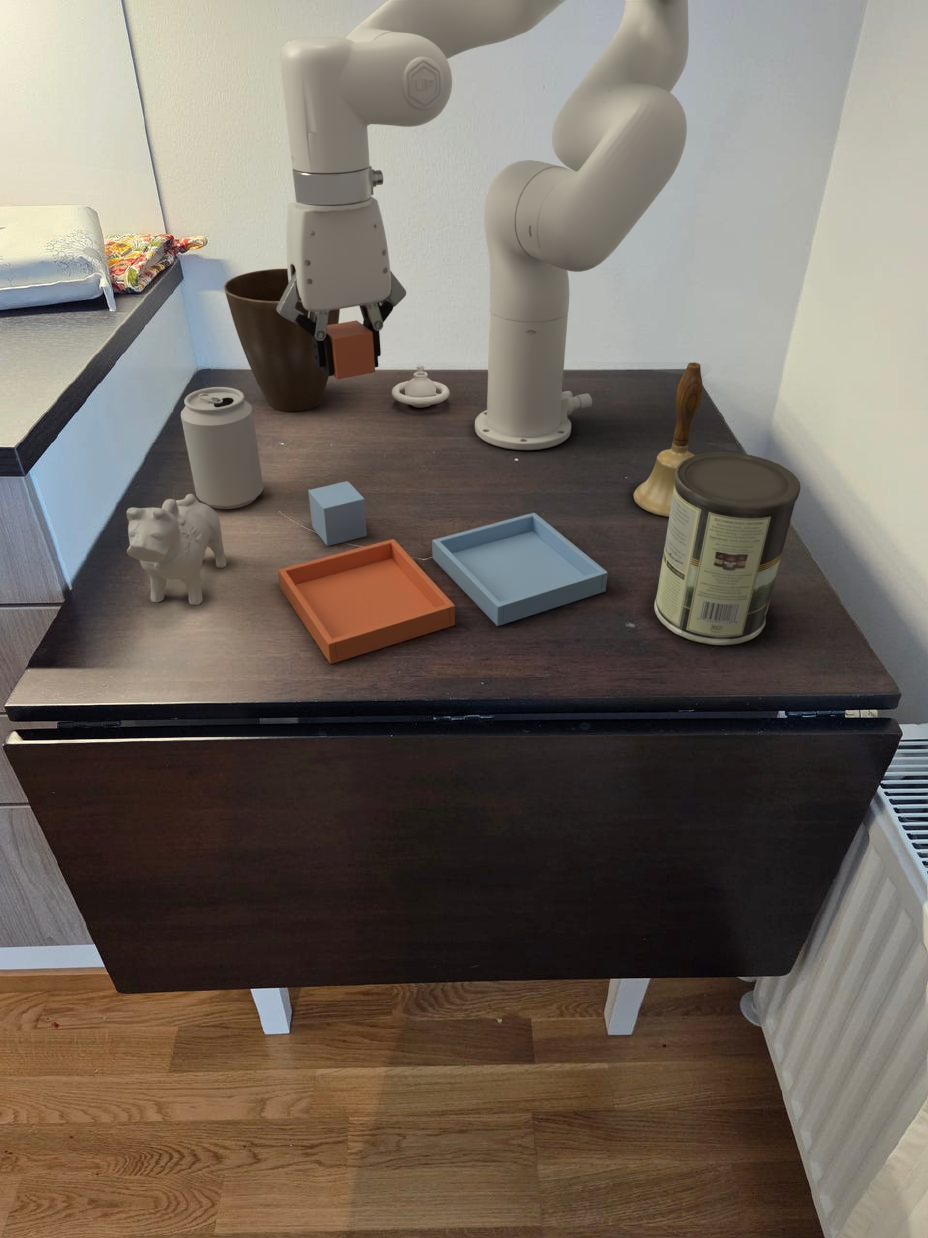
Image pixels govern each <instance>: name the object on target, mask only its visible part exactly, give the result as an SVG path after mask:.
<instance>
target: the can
mask: <svg viewBox="0 0 928 1238" xmlns="http://www.w3.org/2000/svg"><path fill="white" fill-rule="evenodd" d="M184 405H185V406H184V408H183V409H182V410H181V412H180V420H181V424H182V429H183V434H184V440H185V445H186V449H187V455H188V460H189V465H190V471H191V475H192V481H193V487H194V490H195V497H196V498H197V499H198V501H201V502H202V503H204V504H206V505H208V506H209V507H211V508H212V509H218V510H234V509H238V508H242V507H245V506H248V505H250V504H252V503H253V502H254V501H255V500H256V499H257V498H258V497H259V496H260V495H261V494H262V492H263V490H264V482H263V475H262V469H261V468H262V467H261V462H260V454H259V446H258V441H257V433H256V428H255V419H254V413H253V408H252V407H253V406H252V405H251V404H250V403H249V402H248V401H247V400H245V394H244V393H243V392H242V391H241V390H239V389H236V388H234V387H227V386H214V387H207V388H201V389H198V390H195V391H193V392H190V393H189V394H187V395H186V397H185V398H184Z"/></svg>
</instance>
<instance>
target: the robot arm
mask: <svg viewBox="0 0 928 1238" xmlns="http://www.w3.org/2000/svg"><path fill="white" fill-rule="evenodd" d="M565 1H566V0H387V1H386V2H385V3H384V4H382V5H381V6H379V7H378V8H377V9H376V10H375V11H374V12H372V13H371V14H370V15H369V16H367V18H365V19H364V20H363V21H362V22H360V23H359V24H358V25H357V26H355V27H354V28H353V30H351V31H350V32H349V33H348V35H347V36H346V37H336V36H333V37H332V36H319V37H300V38H299V37H298V38H294V39H291V40H289V41H287V42H285V43H284V44H283V46H282V48H281V51H280V57H279V58H280V59H279V61H280V73H281V80H282V90H283V91H282V92H283V99H284V108H285V116H286V126H287V134H288V142H289V143H288V144H289V153H290V160H291V169H292V178H293V188H294V197H295V201H294V202H290V203H289V204H288V205H287V213H286V264H287V267H286V268H287V269H288V281H289V284H288V286H287V288H286V290H285V292H284V294H283V296H282V298H281V300H280V302H279V304H278V305H277V308H276V309H277V312H278V313H279V314H280V315H281V316H283V317H284V318H286V319H288V320H290V321H292V322H294V323H296V324H297V325H299V326H300V327H302V328H303V329H304V330H306V331H307V332H308V333H309V334H311V335H312V342H313V351H314V360H315V364H316V366H317V367H320V369H321V370H322V371H323V372H324V373H325V374H326V375H327V376H329V377H334V376H333V374H334V363H333V353H332V343H331V340H330V339H329V338H327V324H328V316H329V310H336V309H340V310H342V309H348V308H353V307H359V310H360V313H361V315H362V319H363V320H362V323H361V324H362V325H364V326H365V327H366V328H368V329H369V330H370V331H372V332H373V346H374V361H375V368H378V367H379V357H381V354H382V350H381V349H382V348H381V334H380V333H381V332H380V331H382V329H383V328H384V323H385V322H386V320H387V319H388V317H389V316H390V315H391V313H392V312H393V310H394V307H396V306H397V305H399V303H400V302H401V301H402V300H404V298H405V297H406V296H407V290H406V288H405V287H404V286H403V284H402V283H401V282H400V281H399V279H398V278H397V277H396V276H395V274H394V273H393V272H392V270H391V264H390V255H389V249H388V242H387V236H386V230H385V226H384V221H383V217H382V213H381V208H380V205H379V202H378V199H376V198H375V197H373V196H374V188H376V187H377V186H381V185H382V186H383V183H384V174H383V171H382V170H381V169H378V170H377V169H376V170H375V169H374V168H373V167H372V165H370V163H371V162H370V151H369V149H370V147H369V132H368V126H370V125H381V126H382V125H383V126H394V127H402V128H403V127H406V128H412V127H419V126H422V125H425V124H428V123H430V122H432V121H433V120H435V119H436V118H437V117H438V116H439V115H440V114H442V112H443V111H444V109H445V108H446V107H447V104H448V102H449V100H450V98H451V94H452V90H453V74H452V69H451V66H450V63H449V61H448V59H451V58H452V57H455V56H457V55H459V54H462V53H464V52H466V51H470V50H472V49H473V50H474V49H475V48H480V47H485V46H489V45H494V44H497V43H502V42H504V41H508V40H511V39H513V38H515V37H518V36H520V35H522V34H525V33H527V32H529V31H531V30H532V29H534V28H535V27H536V26H537V25H538V24H539V23H541V22H542V21H543V20H544V19H545V18H547V17H548V16H549V15H550V14H551V13H553V12H554V11H555V10H556V9H557V8H558V7H560V6H561V5H562V4H563V3H564V2H565ZM689 32H690V31H689V0H624V10H623V15H622V19H621V22H620V25H619V27H618V29H617V31H616V33H615V34H614V36H613V37H612V39H611V40H610V41H609V43H608V45H607V46H606V48H605V49H604V51H603V52H602V53H601V54H600V56H599V58H597V60H596V61H595V63H594V64H593V65H592V67H591V68H590V69H589V70H588V71H587V73H586V74H585V76H584V77H583V78H582V80H581V81H580V82H579V84H578V85H577V86H576V87H575V89H574V90H573V91H572V93H571V94H570V95H569V97H568V98H567V100H566V101H565V102H564V103H563V105H562V107H561V109H560V110H559V112H558V113H557V115H556V118H555V120H554V122H553V126H552V131H551V146H552V149H553V151H554V153H555V156H556V157H557V159H558V160H559V162H561V163H562V164H563V165H564V166H565V167H564V166H560V165H556V164H552V163H549V162H544V161H540V160H531V159H526V160H519V161H515V162H512V163H510V164H508V165H507V166H505V167H503V168H502V169H501V170H500V171H499V172H498V173H496V175H495V176H494V178H493V179H492V181H491V183H490V184H489V186H488V189H487V192H486V195H485V199H484V203H483V204H484V205H483V222H484V232H485V240H486V247H487V253H488V263H489V264H488V265H489V313H488V314H489V315H488V316H489V317H488V319H489V320H488V322H489V323H488V354H487V356H488V358H487V359H488V360H487V361H488V362H487V393H486V395H487V396H486V397H487V399H486V404H487V405H486V409H485V410H484V411H482V412H480V413H479V414H478V415H477V416H476V417H475V419H474V432H475V434H476V435H477V437H479V438H480V439H481V440H482V441H484V442H486V443H488V444H490V445H493V446H495V447H499V448H502V449H507V450H517V451H535V450H537V451H538V450H544V449H549V448H552V447H556V446H558V445H560V444H562V443H564V442H565V441H566V440H568V438H569V437H570V436H571V432H572V421H571V420H570V419H569V418H568V416H570V415H571V414H572V413H573V412H574V411H581V410H586V409H590V408H592V405H593V399H592V397H591V395H590V394H589V393H588V392H587V393H582V394H576V395H573V392H572V391H571V390H565V391H563V386H564V385H563V384H564V370H565V358H566V345H567V344H566V343H567V334H568V333H567V332H568V319H569V318H568V317H569V311H570V309H569V308H570V280H569V272H575V273H579V272H586V271H589V270H592V269H594V268H596V267H597V266H599V265H601V264H602V263H603V262H604V261H606V260H607V259H608V257H610V256H611V255H612V253H614V251H616V250H617V248H618V247H619V245H620V244H621V243H622V242H623V241H624V239H625V238H626V237H627V235H628V234H629V233H630V232H631V231H632V229H633V228H634V227H635V225H636V224H637V223H638V221H639V220H640V219H641V217H642V216H643V215H644V214H645V213H646V211H647V210H648V209H649V208H650V206H651V205H652V204H653V203H654V201H655V200H656V199H657V197H658V196H659V195H660V194H661V192H662V191H663V190H664V188H665V187H666V185H667V184H668V182H669V181H670V180H671V178H672V177H673V175H674V174H675V172H676V170H677V168H678V166H679V164H680V161H681V159H682V155H683V152H684V150H685V146H686V141H687V133H688V124H687V116H686V113H685V110H684V107H683V105H682V103H681V102H680V101H679V99H678V98H677V97H676V95H674V94H672V93H671V92H672V91H673V89H674V88H675V86H676V85H677V84H678V81H679V80H680V78H681V76H682V75H683V72H684V70H685V67H686V65H687V60H688V56H689V48H690V47H689V44H690V42H689V41H690V39H689V37H690V35H689ZM297 302H302V304H303V307H304V308H305V309H306V310H308V317H307V316H306V315H304V314H303V313H302V312H300V311H298V310H296V309H295V306H296V303H297Z"/></svg>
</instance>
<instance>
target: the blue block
mask: <svg viewBox="0 0 928 1238" xmlns="http://www.w3.org/2000/svg"><path fill="white" fill-rule="evenodd" d="M308 501H309V510H310V511H309V512H310V519H311V520H310V521H311V527H312V529H313V530H314V531H315V533H316V534H317V535H318V536H319V537H320V539H321V540H322V541H323V543H324V544H325V545H326V547H330V546H333V545H338V544H341V543H346V542H350V541H353V540H357V539H361V538H364V537H367V536H368V533H367V532H368V531H367V518H366V517H367V516H366V503H365V498H364V497H363V496H362V494H360V493H359V491H358V490H357V489H356V488H355V487H354V486H353V485H352V484H351V483H350V482H349V480H346V481H342V482H337V483H334V484H329V485H325V486H321V487H317V488H313V489H308Z"/></svg>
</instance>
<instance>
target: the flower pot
mask: <svg viewBox="0 0 928 1238" xmlns="http://www.w3.org/2000/svg"><path fill="white" fill-rule="evenodd" d="M288 284H289V281H288V268H270V269H261V270H255V271H250V272H246V273H242V274H239V275H237V276H234V277H231V278H230V279H229V280H227V281H226V282H225V283H224V286H223V289H224V293H225V297H226V299H227V300H226V301H227V303H228V308H229V311H230V314H231V318H232V322H233V324H234V327H235V330H236V333H237V336H238V339H239V343H240V345H241V348H242V350H243V352H244V355H245V358H246V360H247V363H248V365H249V367H250V369H251V371H252V375H253V376H254V378H255V380H256V383H257V384H258V387H259V388H260V391H261V392H262V393H261V394H262V395H263V396H264V398H265V400H266V402H267V404H268V406H270V407H271V408H273V409H275V410H277V411H281V412H303V411H307V410H311V409H314V408H316V407H318V406H319V405H320V404H321V403H322V401H323V397H324V394H325V391H326V387H327V383H328V380H329V377H330V376H327V375H326V374H325V373H324V372H323V371H322V370H321V369H320V367H317V366H316V364H315V360H314V351H313V342H312V335H311V334H309V333H308V332H307V331H306V330H304V329H303V328H302V327H300V326H299V325H297V324H296V323H294V322H292V321H290V320H288V319H286V318H284V317H283V316H281V315H280V314H279V313H278V312H277V309H276V308H277V305H278V304H279V302H280V300H281V298H282V296H283V294H284V292H285V290H286V288H287V286H288ZM295 309H296V310H298V311H300V312H302V313H303V314H304V315H306V316H307V317H308V310H306V309H305V308H304V307H303V304H302V302H297V303H296V306H295ZM340 314H341V309H336V310H329V316H328V324H327V325H332V324H338V323H339V322H340Z"/></svg>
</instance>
